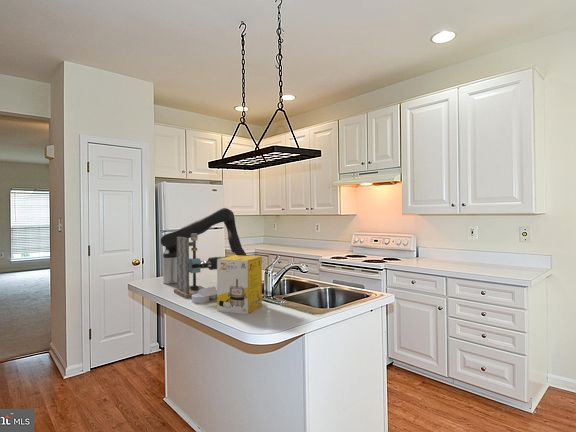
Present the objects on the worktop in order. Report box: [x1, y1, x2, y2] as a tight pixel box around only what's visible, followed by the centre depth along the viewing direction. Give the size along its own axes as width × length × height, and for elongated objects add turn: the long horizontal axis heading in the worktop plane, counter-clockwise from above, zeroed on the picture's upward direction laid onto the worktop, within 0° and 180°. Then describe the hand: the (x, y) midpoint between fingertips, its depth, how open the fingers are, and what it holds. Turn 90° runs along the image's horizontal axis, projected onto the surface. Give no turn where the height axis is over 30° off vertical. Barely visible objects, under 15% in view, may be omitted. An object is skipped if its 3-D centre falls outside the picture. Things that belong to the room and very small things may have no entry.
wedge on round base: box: [191, 286, 217, 304], centre depth 191 cm, size 9×7×13 cm
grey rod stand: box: [173, 233, 205, 299], centre depth 208 cm, size 18×16×35 cm
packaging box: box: [216, 254, 263, 315], centre depth 176 cm, size 16×16×25 cm
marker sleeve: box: [189, 257, 201, 274], centre depth 208 cm, size 5×5×8 cm
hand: (190, 265), depth 207 cm, fingers closed on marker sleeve, 5 cm apart
